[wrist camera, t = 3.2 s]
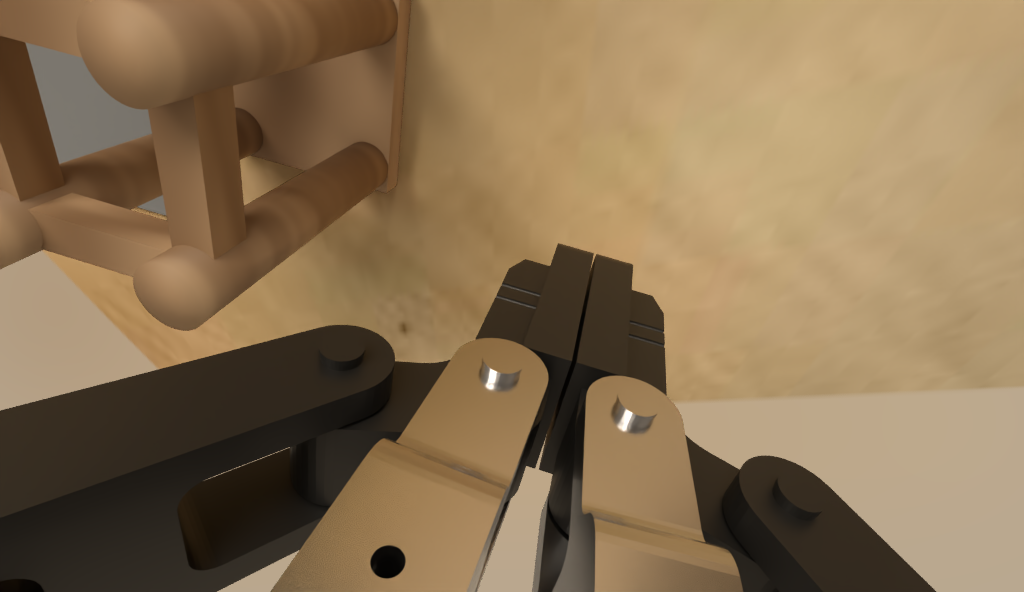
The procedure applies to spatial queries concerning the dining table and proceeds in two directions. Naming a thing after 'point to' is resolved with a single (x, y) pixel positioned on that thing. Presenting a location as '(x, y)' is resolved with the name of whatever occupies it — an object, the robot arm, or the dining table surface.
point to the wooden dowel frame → (201, 136)
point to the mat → (84, 110)
